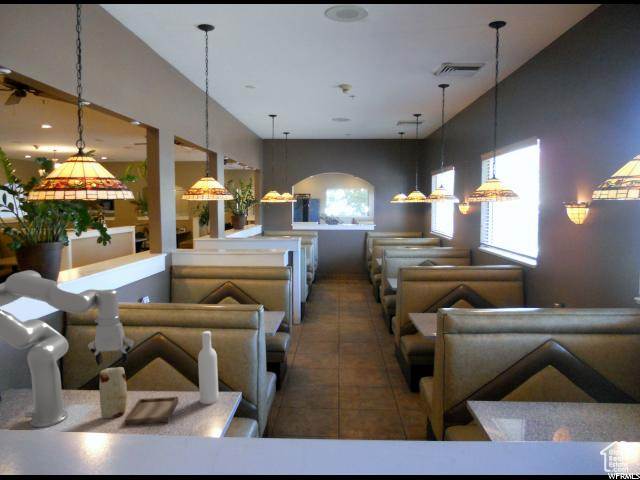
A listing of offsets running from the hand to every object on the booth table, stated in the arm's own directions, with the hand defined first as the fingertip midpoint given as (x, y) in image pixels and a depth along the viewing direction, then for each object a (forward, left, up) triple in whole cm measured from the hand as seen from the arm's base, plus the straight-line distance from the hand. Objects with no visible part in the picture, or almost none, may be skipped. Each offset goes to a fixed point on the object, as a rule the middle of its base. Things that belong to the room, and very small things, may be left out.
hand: (112, 363), depth 175 cm
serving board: (+15, 0, -22) cm, 26 cm away
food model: (0, 0, -22) cm, 22 cm away
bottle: (+36, +9, -22) cm, 43 cm away
